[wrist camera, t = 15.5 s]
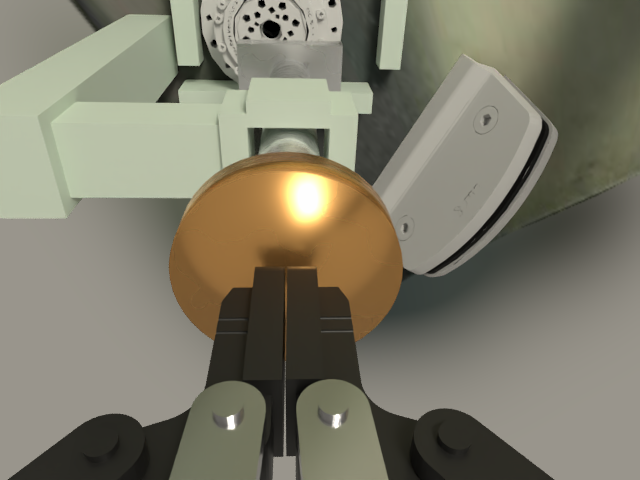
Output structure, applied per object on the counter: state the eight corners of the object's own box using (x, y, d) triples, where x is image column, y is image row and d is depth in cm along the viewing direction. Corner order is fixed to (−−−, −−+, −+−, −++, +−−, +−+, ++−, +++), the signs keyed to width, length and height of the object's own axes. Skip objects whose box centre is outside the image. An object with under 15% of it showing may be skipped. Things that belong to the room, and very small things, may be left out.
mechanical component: (183, 51, 37) (302, 111, 40) (171, 65, 33) (303, 130, 36) (236, -91, 32) (366, -11, 35) (228, -93, 29) (375, -4, 31)
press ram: (341, 23, 28) (418, 172, 11) (336, 123, 32) (390, 359, 15) (237, 20, 28) (151, 171, 11) (243, 122, 31) (184, 362, 14)
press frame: (413, -114, 32) (583, -166, 13) (390, 102, 39) (478, 259, 21) (105, -126, 31) (-178, -201, 12) (142, 98, 38) (2, 261, 20)
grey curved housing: (465, 48, 37) (552, 108, 31) (502, 72, 40) (590, 132, 33) (351, 217, 45) (400, 296, 38) (388, 227, 48) (441, 303, 41)
